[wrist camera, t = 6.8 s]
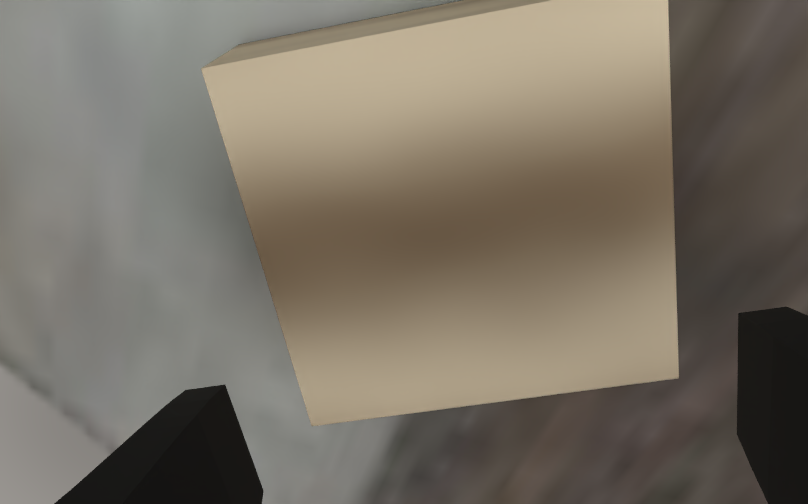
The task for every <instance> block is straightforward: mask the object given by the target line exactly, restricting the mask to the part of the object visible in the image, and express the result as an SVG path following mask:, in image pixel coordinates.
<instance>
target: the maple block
mask: <svg viewBox="0 0 808 504" xmlns="http://www.w3.org/2000/svg"><path fill="white" fill-rule="evenodd" d="M201 70H202V73H203V76H204V79H205V83H206V86H207V89H208V92H209V96H210V99H211V102H212V105H213V109H214V112H215V115H216V118H217V121H218V125H219V128H220V131H221V134H222V138H223V141H224V144H225V147H226V151H227V154H228V157H229V160H230V164H231V167H232V170H233V173H234V176H235V180H236V183H237V186H238V189H239V193H240V196H241V199H242V202H243V206H244V209H245V212H246V215H247V218H248V222H249V225H250V228H251V231H252V235H253V238H254V241H255V244H256V248H257V251H258V254H259V257H260V260H261V264H262V267H263V270H264V273H265V277H266V280H267V283H268V286H269V290H270V293H271V296H272V299H273V302H274V306H275V309H276V312H277V315H278V319H279V322H280V325H281V328H282V332H283V335H284V338H285V341H286V344H287V348H288V351H289V354H290V357H291V361H292V364H293V367H294V370H295V374H296V377H297V380H298V383H299V386H300V390H301V393H302V396H303V399H304V403H305V406H306V409H307V412H308V416H309V419H310V422H311V425H312V426H318V425H326V424H333V423H341V422H349V421H356V420H364V419H371V418H379V417H387V416H394V415H402V414H409V413H417V412H425V411H432V410H440V409H447V408H455V407H463V406H470V405H478V404H485V403H493V402H501V401H508V400H516V399H524V398H531V397H539V396H546V395H554V394H562V393H569V392H577V391H584V390H592V389H600V388H607V387H615V386H622V385H630V384H638V383H645V382H653V381H661V380H668V379H676V378H679V366H678V331H677V297H676V262H675V227H674V192H673V158H672V123H671V88H670V53H669V18H668V0H462V1H457V2H452V3H447V4H442V5H437V6H432V7H427V8H422V9H417V10H412V11H406V12H401V13H396V14H391V15H386V16H381V17H376V18H371V19H366V20H361V21H356V22H351V23H346V24H341V25H336V26H331V27H326V28H320V29H315V30H310V31H305V32H300V33H295V34H290V35H285V36H280V37H275V38H270V39H265V40H260V41H255V42H250V43H245V44H239V45H238V46H236V47H234V48H233V49H231V50H230V51H228V52H227V53H225V54H223V55H222V56H220V57H219V58H217V59H215V60H214V61H212V62H211V63H209V64H207V65H206V66H204V67H203V68H201Z"/></svg>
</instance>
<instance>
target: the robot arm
mask: <svg viewBox="0 0 808 504" xmlns="http://www.w3.org/2000/svg"><path fill="white" fill-rule="evenodd" d="M737 435H738V438H739V440H740V442H741V445H742V447H743V449H744V451H745V454H746V456H747V458H748V461H749V463H750V465H751V468H752V470H753V472H754V474H755V476H756V478H757V481H758V483H759V485H760V487H761V489H762V491H763V493H764V496H765V498H766V500H767V502H768V504H808V316H807V315H805V314H802V313H800V312H798V311H795V310H793V309H791V308H788V307H781V308H774V309H767V310H759V311H752V312H745V313H739V314H738V395H737ZM262 497H263V488H262V486H261V483H260V480H259V477H258V475H257V472H256V469H255V466H254V463H253V461H252V458H251V455H250V452H249V450H248V447H247V444H246V441H245V439H244V436H243V433H242V430H241V427H240V425H239V422H238V419H237V416H236V414H235V411H234V408H233V405H232V403H231V400H230V397H229V394H228V392H227V389H226V386H225V385H219V386H212V387H205V388H197V389H190V390H185V391H184V392H182V393H181V394H180V395H179V396H177V397H176V398H175V399H173V400H172V401H171V402H170V403H168V404H167V405H166V406H165V407H164V408H162V409H161V410H160V411H159V412H158V413H157V414H155V415H154V416H153V417H152V418H151V419H150V420H149V421H148V422H146V423H145V424H144V425H143V426H142V427H141V428H140V429H139V430H137V431H136V432H135V433H134V434H133V435H132V436H131V437H130V438H129V439H127V440H126V441H125V442H124V443H123V444H122V445H121V446H120V447H119V448H117V449H116V450H115V451H114V452H113V453H112V454H111V455H110V456H108V457H107V458H106V459H105V460H104V461H103V462H102V463H101V464H100V465H98V466H97V467H96V468H95V469H94V470H93V471H92V472H90V473H89V474H88V475H87V476H86V477H85V478H84V479H83V480H82V481H80V482H79V483H78V484H77V485H76V486H75V487H74V488H72V490H71V491H69V492H68V493H67V494H65V495H64V496H63V497H62V498H61V499H59V500H58V501H57V502H56V503H55V504H262Z"/></svg>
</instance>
